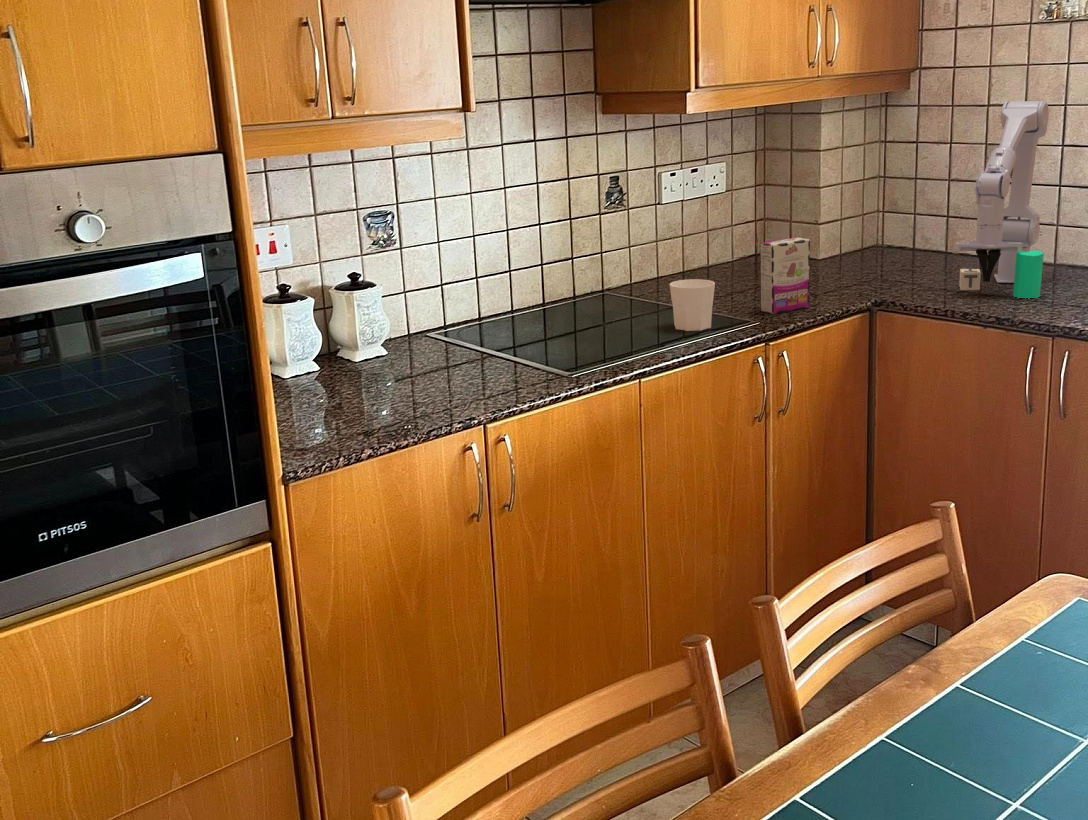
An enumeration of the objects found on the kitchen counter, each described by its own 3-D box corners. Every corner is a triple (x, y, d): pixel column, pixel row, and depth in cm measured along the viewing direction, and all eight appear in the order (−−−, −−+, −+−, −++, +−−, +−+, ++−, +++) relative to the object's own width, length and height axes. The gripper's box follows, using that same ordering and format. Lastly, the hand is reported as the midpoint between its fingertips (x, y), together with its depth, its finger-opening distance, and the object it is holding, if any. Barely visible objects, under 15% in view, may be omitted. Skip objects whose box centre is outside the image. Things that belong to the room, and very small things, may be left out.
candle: (1041, 294, 277) (1046, 244, 274) (1037, 300, 272) (1042, 249, 269) (1015, 293, 280) (1019, 243, 277) (1010, 298, 275) (1014, 247, 272)
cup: (668, 322, 268) (668, 280, 265) (712, 321, 267) (712, 278, 265) (672, 332, 258) (671, 288, 255) (717, 331, 258) (717, 287, 255)
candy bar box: (796, 304, 280) (797, 236, 275) (810, 308, 275) (811, 239, 271) (758, 311, 275) (759, 242, 270) (772, 314, 271) (773, 244, 266)
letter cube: (959, 286, 291) (960, 268, 290) (978, 286, 290) (979, 268, 289) (960, 290, 287) (961, 272, 286) (979, 290, 286) (980, 272, 284)
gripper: (958, 227, 273) (955, 284, 277) (1024, 226, 269) (1020, 284, 273) (956, 222, 279) (953, 278, 283) (1021, 221, 275) (1017, 278, 279)
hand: (986, 281), depth 278 cm, fingers closed
